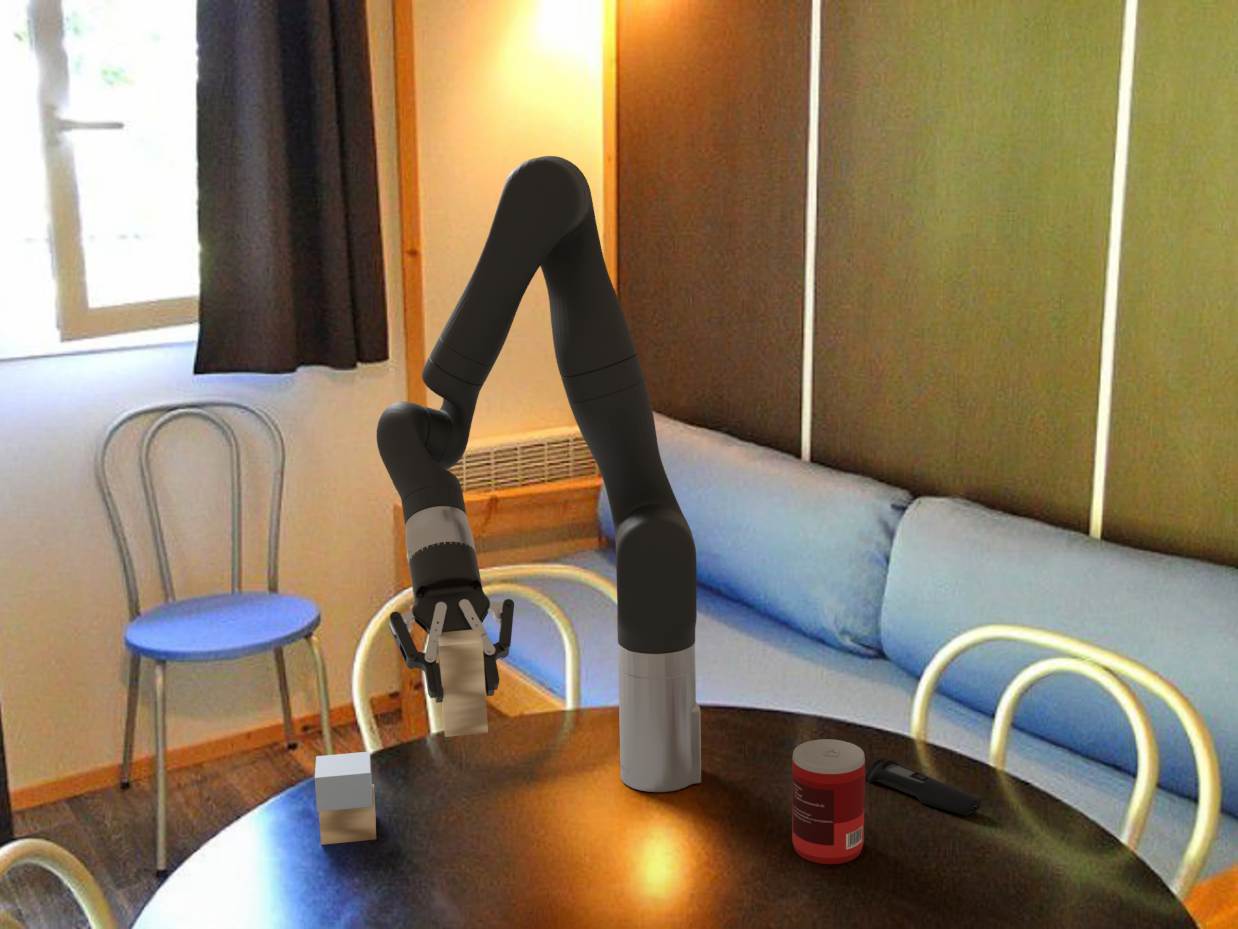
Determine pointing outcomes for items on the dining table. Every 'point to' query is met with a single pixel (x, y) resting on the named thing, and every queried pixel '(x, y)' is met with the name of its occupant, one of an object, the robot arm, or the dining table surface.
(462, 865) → the dining table surface
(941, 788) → the electric trimmer
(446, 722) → the maple block
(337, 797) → the tower mid
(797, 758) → the canned food
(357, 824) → the tower base
